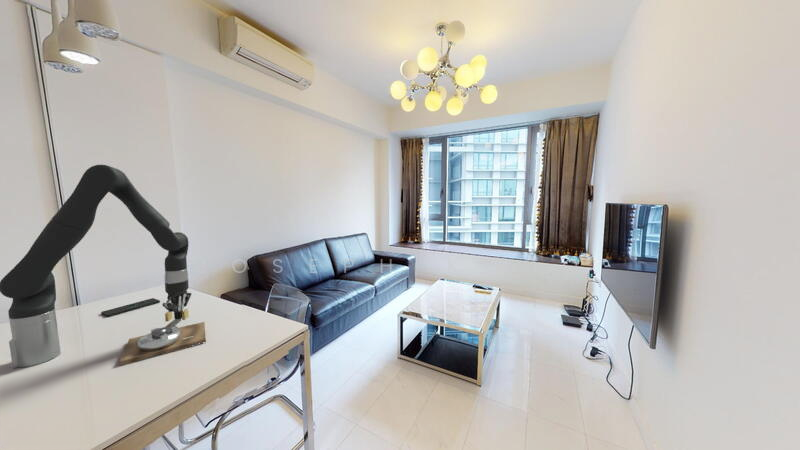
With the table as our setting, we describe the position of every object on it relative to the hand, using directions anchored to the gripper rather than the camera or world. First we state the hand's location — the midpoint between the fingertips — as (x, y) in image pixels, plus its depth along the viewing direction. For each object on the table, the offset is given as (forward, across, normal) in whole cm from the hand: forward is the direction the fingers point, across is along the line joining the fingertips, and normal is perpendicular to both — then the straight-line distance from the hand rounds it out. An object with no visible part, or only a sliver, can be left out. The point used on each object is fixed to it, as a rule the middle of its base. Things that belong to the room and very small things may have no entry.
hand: (178, 318), depth 110 cm
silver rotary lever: (+4, +7, 0) cm, 8 cm away
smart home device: (+8, -26, -43) cm, 50 cm away
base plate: (+6, +8, +2) cm, 10 cm away
